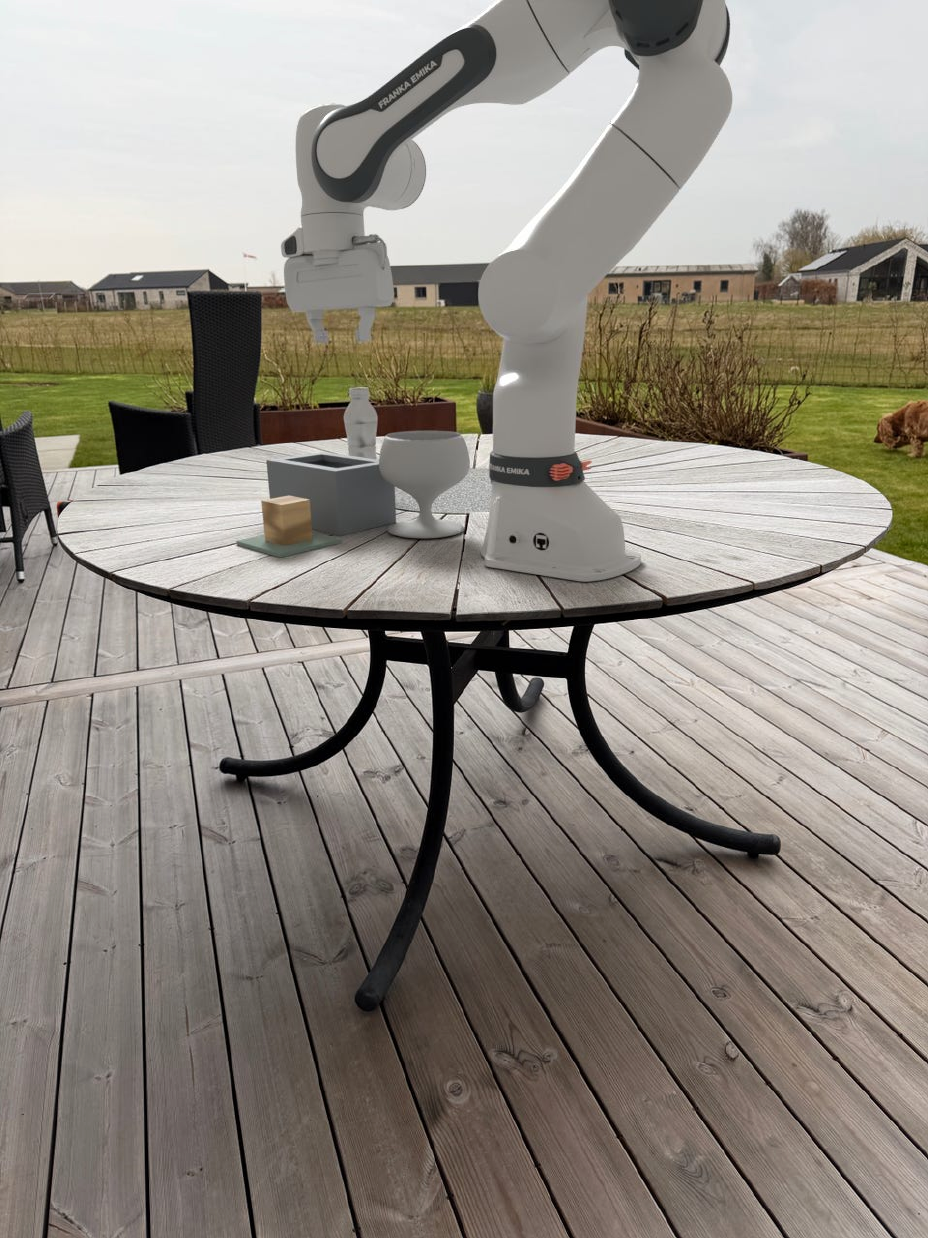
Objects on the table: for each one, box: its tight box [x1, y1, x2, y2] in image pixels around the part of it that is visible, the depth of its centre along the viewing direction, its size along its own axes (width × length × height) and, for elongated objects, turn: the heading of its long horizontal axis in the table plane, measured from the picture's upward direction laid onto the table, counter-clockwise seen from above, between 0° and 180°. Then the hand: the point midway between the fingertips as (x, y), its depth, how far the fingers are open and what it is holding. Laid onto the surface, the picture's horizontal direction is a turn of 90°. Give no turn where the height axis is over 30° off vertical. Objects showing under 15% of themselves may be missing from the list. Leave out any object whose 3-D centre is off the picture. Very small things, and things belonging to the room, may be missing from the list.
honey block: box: [261, 496, 313, 546], centre depth 116 cm, size 5×5×6 cm
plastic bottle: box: [343, 386, 378, 460], centre depth 150 cm, size 6×7×20 cm
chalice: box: [378, 430, 471, 539], centre depth 122 cm, size 14×14×15 cm
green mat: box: [235, 531, 342, 558], centre depth 118 cm, size 11×11×1 cm
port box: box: [266, 451, 397, 537], centre depth 130 cm, size 18×12×10 cm, turn 48°
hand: (342, 342), depth 117 cm, fingers open, 8 cm apart
